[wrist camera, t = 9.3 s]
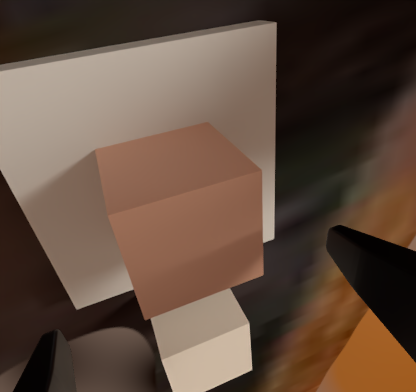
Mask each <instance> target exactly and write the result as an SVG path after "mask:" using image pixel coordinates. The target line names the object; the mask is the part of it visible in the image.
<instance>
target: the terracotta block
mask: <svg viewBox="0 0 416 392" xmlns="http://www.w3.org/2000/svg"><path fill="white" fill-rule="evenodd" d="M95 153H96V158H97V164H98V169H99V174H100V179H101V184H102V189H103V195H104V200H105V205H106V210H107V215H108V218H109V221H110V224H111V227H112V230H113V232H114V235H115V238H116V241H117V244H118V246H119V249H120V252H121V255H122V258H123V260H124V263H125V266H126V269H127V272H128V274H129V277H130V280H131V283H132V285H133V288H134V291H135V294H136V297H137V299H138V302H139V305H140V308H141V311H142V313H143V316H144V319H145V320H148V319H150V318H153V317H155V316H158V315H161V314H163V313H166V312H168V311H171V310H174V309H176V308H179V307H181V306H184V305H187V304H189V303H192V302H194V301H197V300H200V299H202V298H205V297H208V296H210V295H213V294H215V293H218V292H221V291H223V290H226V289H228V288H231V287H234V286H236V285H239V284H241V283H244V282H247V281H249V280H252V279H254V278H257V277H260V276H262V275H263V203H262V170H261V169H260V168H259V167H258V166H257V165H256V164H255V163H253V162H252V161H251V160H250V159H249V158H248V157H247V156H246V155H244V154H243V153H242V152H241V151H240V150H239V149H238V148H237V147H235V146H234V145H233V144H232V143H231V142H230V141H229V140H228V139H226V138H225V137H224V136H223V135H222V134H221V133H220V132H219V131H218V130H216V129H215V128H214V127H213V126H212V125H211V124H210V123H209V122H205V123H201V124H197V125H193V126H189V127H185V128H181V129H176V130H172V131H168V132H164V133H160V134H156V135H152V136H148V137H144V138H140V139H135V140H131V141H127V142H123V143H119V144H115V145H111V146H107V147H103V148H98V149H95Z"/></svg>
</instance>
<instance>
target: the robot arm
mask: <svg viewBox="0 0 416 392" xmlns="http://www.w3.org/2000/svg"><path fill="white" fill-rule="evenodd" d="M326 248H327V251H328V253H329V254H330V256H331V257H332V259H333V260H334V262H335V263H336V265H337V266H338V267H339V269H340V270H341V272H342V273H343V275H344V276H345V278H346V279H347V281H348V282H349V283H350V285H351V286H352V287H353V289H354V290H355V291H356V292H357V294H358V295H359V296H360V297H361V298H362V300H363V301H364V302H365V303H366V304H367V306H368V307H369V308H370V309H371V310H372V311H373V313H374V314H375V315H376V316H377V317H378V318H379V320H380V321H381V322H382V323H383V324H384V326H385V327H386V328H387V329H388V330H389V331H390V333H391V334H392V335H393V336H394V337H395V339H396V340H397V341H398V342H399V343H400V345H401V346H402V347H403V348H404V349H405V350H406V351H407V353H408V354H409V355H410V356H411V358H412V359H413V360H414V361H415V362H416V251H413V250H411V249H408V248H405V247H402V246H399V245H396V244H393V243H391V242H388V241H385V240H382V239H379V238H376V237H374V236H371V235H368V234H365V233H362V232H359V231H356V230H354V229H351V228H348V227H345V226H342V225H337V226H334V227H332V228H330V229H329V230H328V234H327V241H326ZM13 392H76V384H75V377H74V369H73V362H72V354H71V349H70V346H69V344H68V342H67V341H66V339H65V337H64V336H63V334H62V333H61V331H60V330H58V329H55V330H53V331H50V332H47V333H45V334H43V335H42V337H41V338H40V340H39V342H38V344H37V346H36V348H35V350H34V352H33V354H32V356H31V358H30V360H29V361H28V364H27V365H26V368H25V369H24V371H23V373H22V375H21V377H20V379H19V381H18V383H17V385H16V387H15V389H14V391H13Z"/></svg>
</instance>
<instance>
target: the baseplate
mask: <svg viewBox="0 0 416 392" xmlns="http://www.w3.org/2000/svg"><path fill="white" fill-rule="evenodd" d="M276 33H277V22H270V21H262V20H257V21H251V22H246V23H240V24H234V25H228V26H222V27H217V28H211V29H205V30H199V31H194V32H188V33H182V34H176V35H170V36H165V37H159V38H153V39H147V40H142V41H136V42H130V43H124V44H118V45H113V46H107V47H101V48H95V49H89V50H84V51H78V52H72V53H66V54H61V55H55V56H49V57H43V58H37V59H32V60H26V61H20V62H14V63H9V64H3V65H0V170H1V172H2V174H3V176H4V177H5V179H6V181H7V183H8V185H9V187H10V188H11V190H12V192H13V194H14V196H15V198H16V199H17V201H18V203H19V205H20V207H21V209H22V210H23V212H24V214H25V216H26V218H27V220H28V221H29V223H30V225H31V227H32V229H33V231H34V232H35V234H36V236H37V238H38V240H39V242H40V243H41V245H42V247H43V249H44V251H45V253H46V254H47V256H48V258H49V260H50V262H51V264H52V265H53V267H54V269H55V271H56V273H57V275H58V276H59V278H60V280H61V282H62V284H63V286H64V287H65V289H66V291H67V293H68V295H69V297H70V298H71V300H72V302H73V304H74V306H75V308H76V309H80V308H83V307H85V306H88V305H91V304H94V303H97V302H99V301H102V300H105V299H108V298H110V297H113V296H116V295H119V294H122V293H124V292H127V291H130V290H133V289H134V288H133V285H132V283H131V280H130V277H129V274H128V272H127V269H126V266H125V263H124V260H123V258H122V255H121V252H120V249H119V246H118V244H117V241H116V238H115V235H114V232H113V230H112V227H111V224H110V221H109V218H108V215H107V210H106V205H105V200H104V195H103V189H102V184H101V179H100V174H99V169H98V164H97V158H96V153H95V149H98V148H103V147H107V146H111V145H115V144H119V143H123V142H127V141H131V140H135V139H140V138H144V137H148V136H152V135H156V134H160V133H164V132H168V131H172V130H176V129H181V128H185V127H189V126H193V125H197V124H201V123H205V122H209V123H210V124H211V125H212V126H213V127H214V128H215V129H216V130H218V131H219V132H220V133H221V134H222V135H223V136H224V137H225V138H226V139H228V140H229V141H230V142H231V143H232V144H233V145H234V146H235V147H237V148H238V149H239V150H240V151H241V152H242V153H243V154H244V155H246V156H247V157H248V158H249V159H250V160H251V161H252V162H253V163H255V164H256V165H257V166H258V167H259V168H260V169H261V170H262V203H263V243H264V242H267V241H269V240H272V239H274V204H275V118H276Z"/></svg>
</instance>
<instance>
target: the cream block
mask: <svg viewBox="0 0 416 392" xmlns="http://www.w3.org/2000/svg"><path fill="white" fill-rule="evenodd" d="M151 322H152V326H153V329H154V333H155V337H156V341H157V345H158V348H159V352H160V356H161V360H162V363H163V365H164V368H165V371H166V374H167V376H168V379H169V382H170V385H171V388H172V390H173V392H205V391H207V390H209V389H212V388H214V387H216V386H218V385H220V384H222V383H225V382H227V381H229V380H231V379H233V378H235V377H238V376H240V375H242V374H244V373H246V372H249V371H251V370H252V359H251V343H250V327H249V322H248V320H247V318H246V316H245V315H244V313H243V311H242V309H241V308H240V306H239V304H238V302H237V300H236V299H235V297H234V295H233V293H232V291H231V290H230V288H228V289H226V290H223V291H221V292H218V293H215V294H213V295H210V296H208V297H205V298H202V299H200V300H197V301H194V302H192V303H189V304H187V305H184V306H181V307H179V308H176V309H174V310H171V311H168V312H166V313H163V314H161V315H158V316H155V317H153V318H151Z"/></svg>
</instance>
